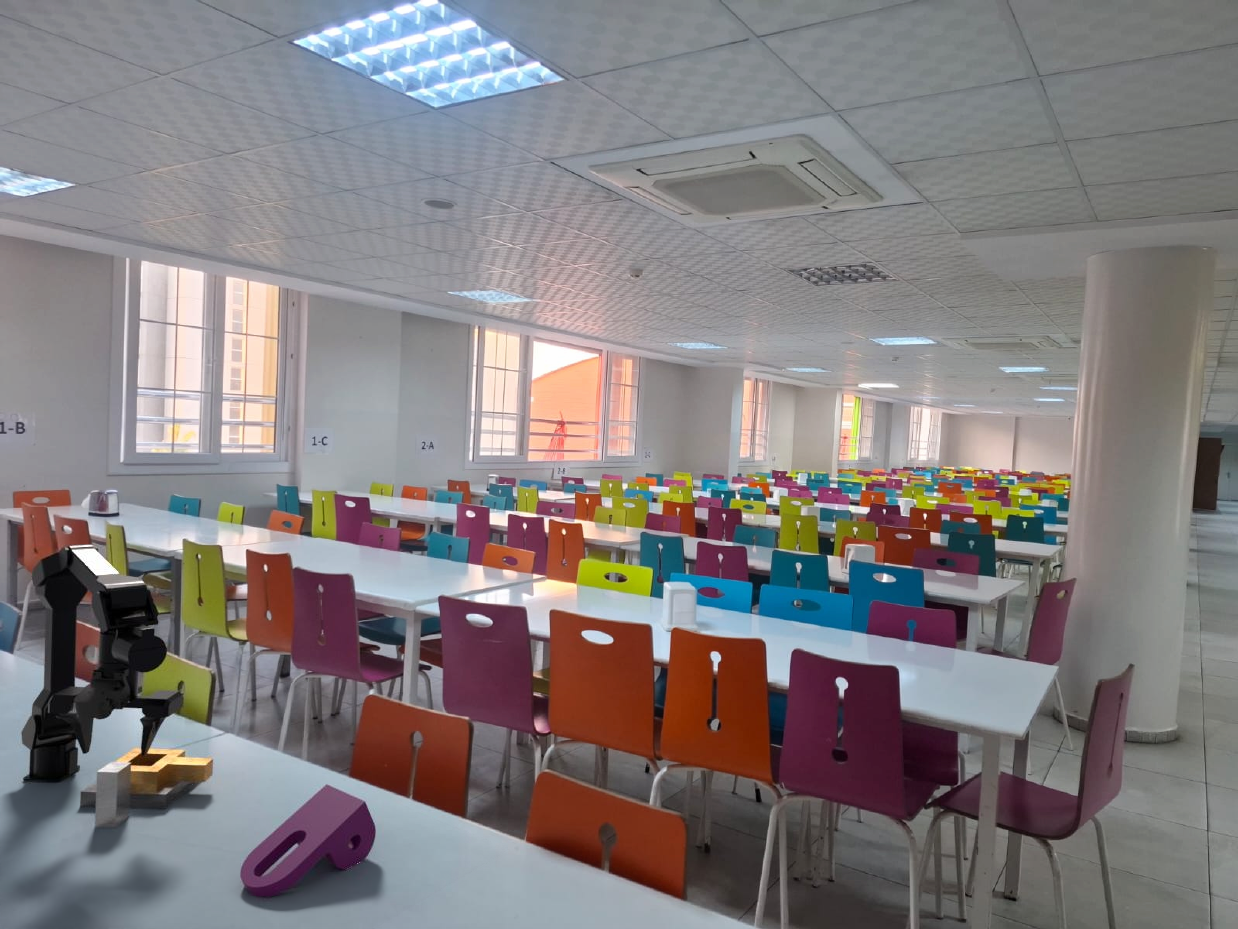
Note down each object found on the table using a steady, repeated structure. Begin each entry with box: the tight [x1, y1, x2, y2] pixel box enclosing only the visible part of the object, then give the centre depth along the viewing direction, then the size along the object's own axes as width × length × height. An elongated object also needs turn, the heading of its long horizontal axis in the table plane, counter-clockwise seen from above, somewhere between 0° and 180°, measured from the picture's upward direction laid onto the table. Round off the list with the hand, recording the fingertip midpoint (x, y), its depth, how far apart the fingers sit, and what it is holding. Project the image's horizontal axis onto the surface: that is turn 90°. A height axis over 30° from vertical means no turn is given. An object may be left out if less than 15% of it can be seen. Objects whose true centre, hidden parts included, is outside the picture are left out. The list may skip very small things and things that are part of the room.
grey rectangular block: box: [94, 761, 131, 828], centre depth 134 cm, size 3×4×9 cm
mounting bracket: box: [239, 784, 377, 898], centre depth 124 cm, size 9×8×18 cm
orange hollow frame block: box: [79, 747, 214, 810], centre depth 146 cm, size 18×14×6 cm
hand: (115, 754), depth 134 cm, fingers open, 9 cm apart
